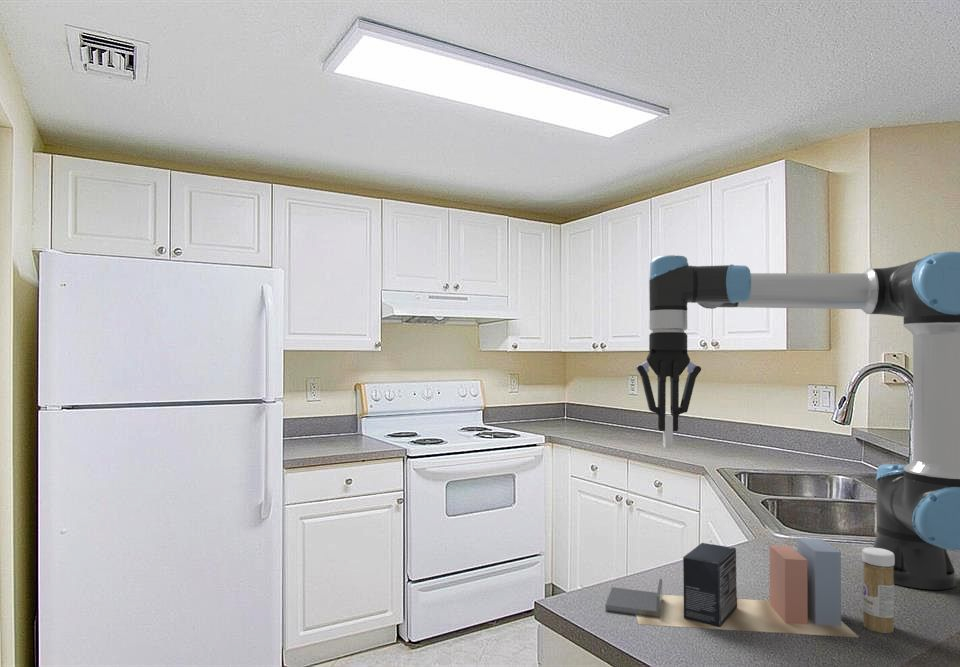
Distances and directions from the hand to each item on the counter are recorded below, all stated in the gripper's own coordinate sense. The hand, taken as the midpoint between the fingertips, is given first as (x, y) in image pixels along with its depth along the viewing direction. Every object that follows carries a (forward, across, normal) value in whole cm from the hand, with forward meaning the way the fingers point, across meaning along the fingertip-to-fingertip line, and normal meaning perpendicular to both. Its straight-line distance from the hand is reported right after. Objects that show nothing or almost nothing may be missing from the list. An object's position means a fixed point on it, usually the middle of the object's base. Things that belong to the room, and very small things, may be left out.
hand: (667, 447), depth 132 cm
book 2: (+25, -22, +18) cm, 38 cm away
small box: (+26, -4, +20) cm, 33 cm away
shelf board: (+26, -8, +20) cm, 34 cm away
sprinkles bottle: (+27, -30, +22) cm, 46 cm away
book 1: (+25, -17, +18) cm, 36 cm away
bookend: (+24, +4, +19) cm, 31 cm away
